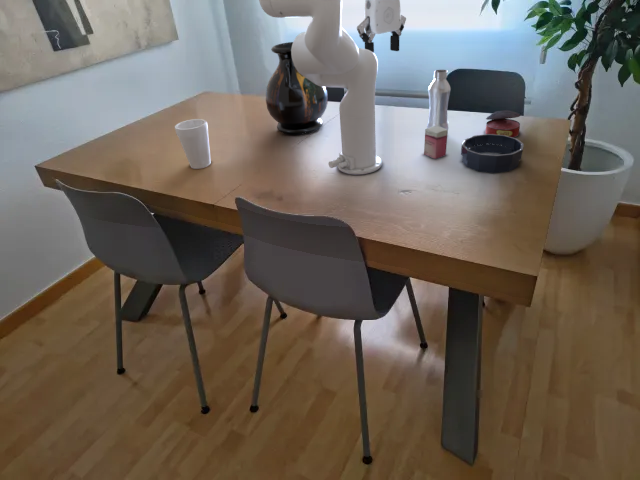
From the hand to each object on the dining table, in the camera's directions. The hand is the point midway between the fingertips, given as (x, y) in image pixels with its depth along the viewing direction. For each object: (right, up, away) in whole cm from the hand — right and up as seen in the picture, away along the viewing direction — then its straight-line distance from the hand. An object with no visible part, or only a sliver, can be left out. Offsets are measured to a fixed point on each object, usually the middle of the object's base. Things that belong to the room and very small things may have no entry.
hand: (382, 53), depth 129 cm
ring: (+29, -32, -6) cm, 44 cm away
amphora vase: (-25, -14, +31) cm, 43 cm away
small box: (+16, -29, +1) cm, 33 cm away
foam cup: (-56, -31, +11) cm, 64 cm away
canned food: (+39, -21, +11) cm, 45 cm away
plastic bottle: (+19, -21, +13) cm, 32 cm away
